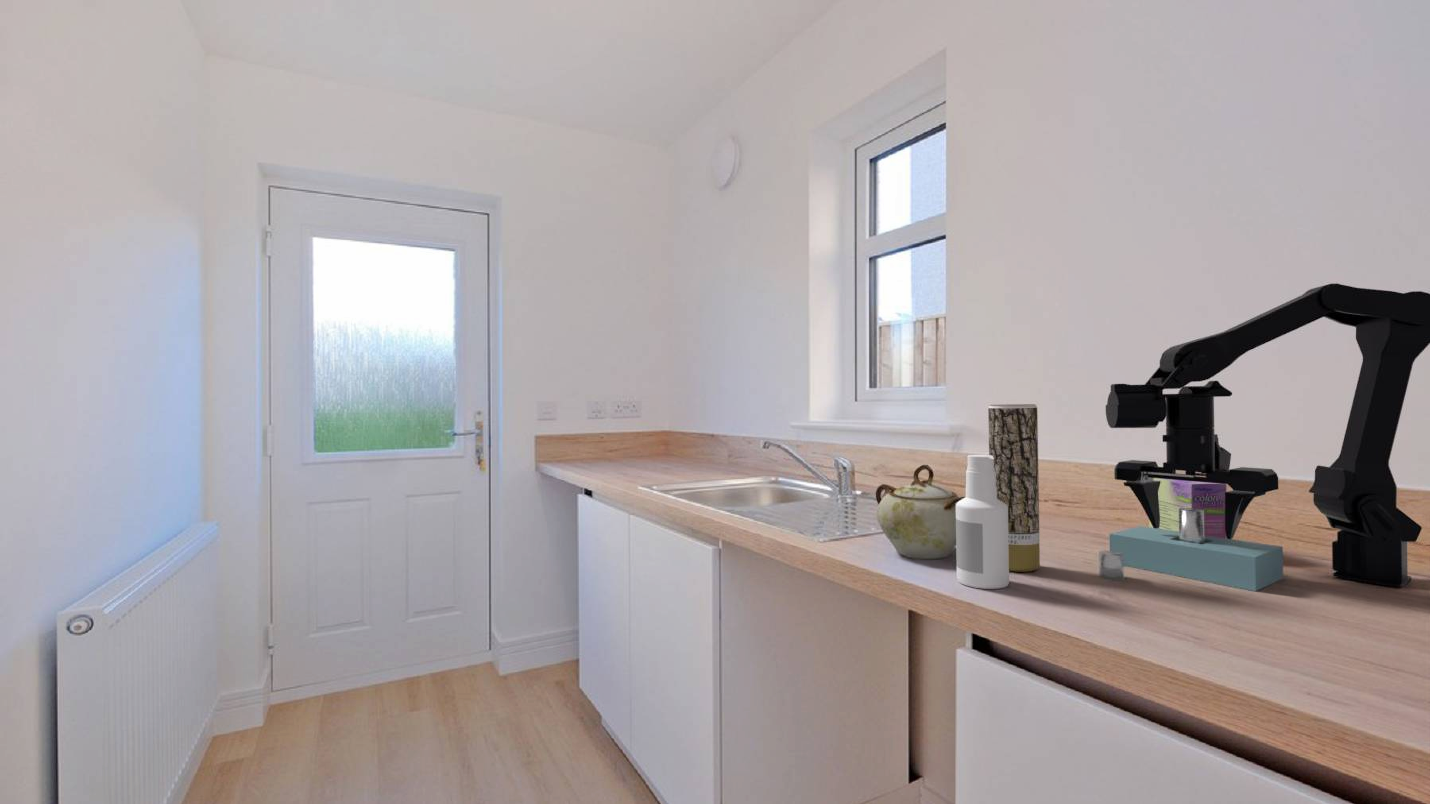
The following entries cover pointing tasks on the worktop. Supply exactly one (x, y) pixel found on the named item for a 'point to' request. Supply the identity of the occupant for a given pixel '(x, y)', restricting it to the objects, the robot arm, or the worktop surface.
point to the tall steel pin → (1191, 525)
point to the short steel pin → (1111, 565)
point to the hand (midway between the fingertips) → (1191, 533)
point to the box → (1192, 504)
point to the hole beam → (1201, 557)
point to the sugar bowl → (919, 517)
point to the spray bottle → (982, 529)
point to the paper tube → (1017, 478)
